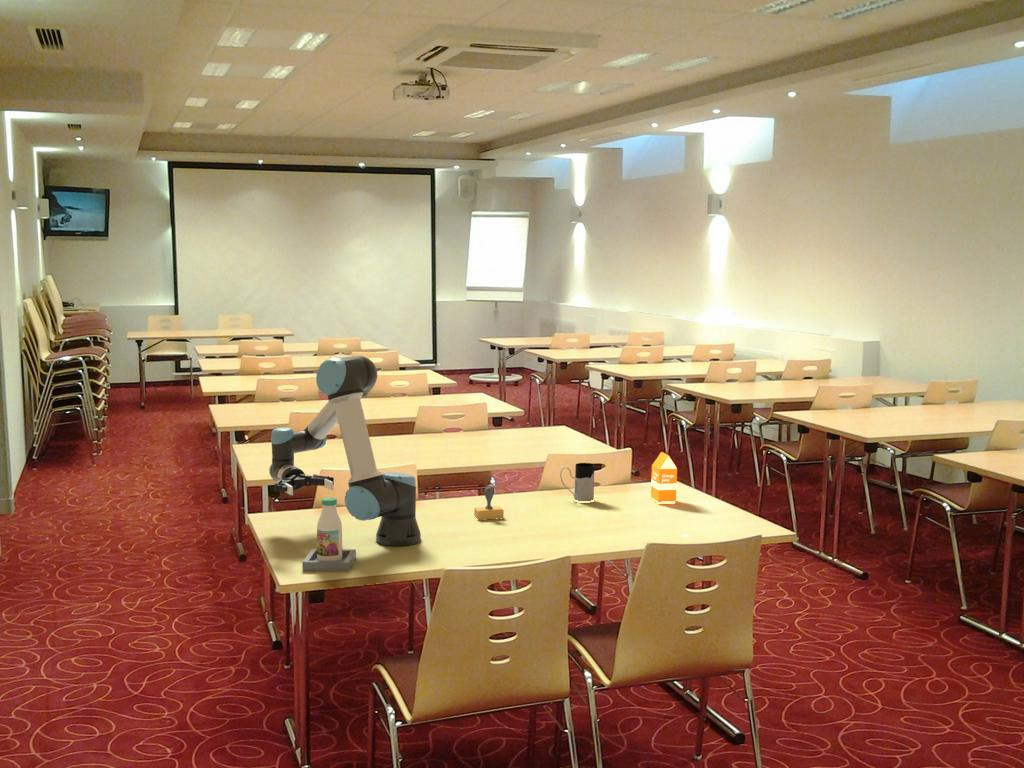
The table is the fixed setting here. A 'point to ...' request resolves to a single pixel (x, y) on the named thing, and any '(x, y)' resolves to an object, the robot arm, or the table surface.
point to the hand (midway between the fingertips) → (312, 488)
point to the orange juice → (664, 479)
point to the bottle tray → (329, 562)
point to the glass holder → (583, 482)
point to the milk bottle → (329, 532)
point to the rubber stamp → (488, 508)
